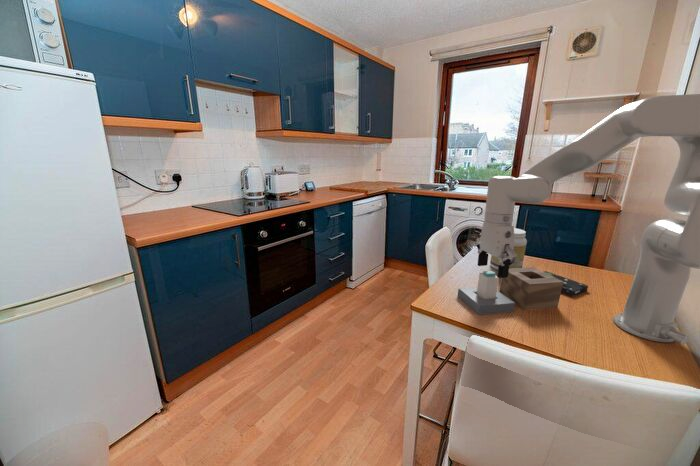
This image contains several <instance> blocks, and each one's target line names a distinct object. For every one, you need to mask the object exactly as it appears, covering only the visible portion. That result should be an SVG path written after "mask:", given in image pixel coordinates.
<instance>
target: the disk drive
mask: <svg viewBox="0 0 700 466" xmlns="http://www.w3.org/2000/svg"><path fill="white" fill-rule="evenodd" d="M544 272H545V273H547V274H549V275H551V276H553V277H555V278H557V279H559V280H561V281H563V287H562V291H561V294H563V295H566V296H569V297H571V298H572V297H576V296H579V295H581V294H583V293H585V292H587V291H588V288H589V285H587V284H586V283H585V284H584V283H581V282H579V281H575V280H573V279H569V278H568V277H564V276H561V275H558V274H555V273H552V272H549V271H544Z"/></svg>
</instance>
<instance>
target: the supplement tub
mask: <svg viewBox="0 0 700 466" xmlns="http://www.w3.org/2000/svg"><path fill="white" fill-rule="evenodd" d="M526 233H527V231H525V230H524V229H521V228H515V227H514V249H513V251H514V252H515V253H516V254H517V257H516V259H515V260H514V263H512V264H511V265H510V266H509V269H511V268H523V265H524V264H523V263H524V259H525V254H526V248H527V243H528V240H527V239H526V236H527V235H526ZM490 255H491V254H490ZM501 255H503V254H501ZM503 260H504V261H505V258H503ZM489 264H490V266H491V268H493V269H494V270H497V271H498V266H499V265H500V262H499V259H498V258H497V257H495V256H493V255H491V256H490V262H489Z"/></svg>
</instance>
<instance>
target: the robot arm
mask: <svg viewBox="0 0 700 466" xmlns="http://www.w3.org/2000/svg"><path fill="white" fill-rule="evenodd" d="M645 137H646V138H647V137H671V138H672V139H673V140H674V141H675V142H676V144H677V146H678V148H679V151H680V152H679V159H678V162H677V167H676V168H675V170H674V173H673V176H672V179H671V181H670V183H669V186H668V188H667V190H666V193H665V195H664V201H663V202H664V206H665V207H666V208H667V209H668V210H669V211H671V212H673V213H675V214H678V215H681V216H685V217H687V218H686V220H683V219H679V218H678V219H677V218H663V219H659V220H655V221H654V222H651V223H650V224H649V225H648V226H647V227H646V228H645V229H644V231H643V233H642V235H641V240H640V254H639V259H638V263H637V266H636V271H635V272H634V277H633V280H632V283H631V287H630V289H629V291H628V296H627V298H626V302H625V305H624V308H623V312H622V313H617V314H615V315H614V316H613V319H612V320H613V322H614V324H616V326H617V327H619V328H620V329H622V330H623V331H626V332H627V333H630V334H631V335H634V336H637V337H639V338H642V339H645V340H649V341H653V342H659V343H673V342H677V343H679V344H681V345H685V344H686V343H688V341H689V340H688V338H689V335H688V334H687V333H684V332H682V331H680V330H678V328H677V327H678V323H677V322H674V319H675V318H676V314H677V311H678V309H679V306H680V303H681V300H682V298H683V295H684V292H685V289H686V286H687V284H688V283H689V279H690V275H691V268H692V269H698V270H700V93H693V94H674V95H673V94H671V95H670V94H669V95H657V96H656V95H655V96H650V97H647V98H642V99H640V100H636V101H633V102H630V103H627V104H625V105H623V106H621V107H620V108H619V109H617V110H615V111H614V112H612V113H611V114H609V115H608V116H607V117H605V118H604V119H602V120H601V121H600V122H598V123H597V124H595V125H594V126H592V127H591V128H590V129H588V130H587V131H586V132H584V133H583V134H581V135H580V136H578V137H577V138H575V139H574V140H572V141H571V142H569V143H568V144H566V145H565V146H563V147H562V148H561V147H560V148H559V149H558V150H557V151H556V152H554V153H552V154H550V155H549V156H547V157H546V158H543V159H542V160H541V161H538V162H537V163H536V164H535V165H533V166H532V167H530V168H529V169H528V170H526V171H525V172H524V173H522V174H521V175H520V176H518V177H514V176H509V175H508V176H507V175H495V176H492V177H490V178H489V180H488V184H487V193H486V201H485V211H484V219H483V220H484V221H483V224H482V228H481V232H480V237H477V238H476V240H475V241H476V247H477V254H478V257H477V266H478V267H483V266H484V267H485V266H488V260H489V255H493V256H495V257H497V258H498V259H499V262H500V265H499V266H498V270H497V273H496V276H497V277H498V278H499V279H502V278H506V277H508V272H509V266H510V265H511V264H512V263H514V260H515V259H516V257H517V254H516V253H515V252H514V251H513V249H514V228H515V227H514V224H513V220H514V214H515V213H514V212H515V207H516V206H515V205H516V202H517V203H524V204H528V205H529V204H530V205H532V204H533V205H536V204H537V205H538V204H540V203H543V202H545V201H546V200H548V199H549V198H550V196H551V195H552V191H553V189H552V188H553V187H552V184H554V183H555V182H557V181H559V180H561V179H563V178H565V177H567V176H570V175H572V174H577V173H579V172H583V171H586V170H589V169H592V168H594V167H596V166H598V165H600V164H601V163H602V162H604V161H605V160H607V159H609V158H610V157H611V156H614V155H615V154H616V153H618V152H619V151H620V150H622V149H623V148H625V147H627V146H628V145H629V144H631V143H633V142H634V141H636V140H638V139H640V138H645ZM501 254H503V255H501ZM503 258H505V261H504V260H503Z"/></svg>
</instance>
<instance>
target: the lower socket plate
mask: <svg viewBox="0 0 700 466" xmlns="http://www.w3.org/2000/svg"><path fill="white" fill-rule="evenodd" d="M477 287H478V286H466V287H458V289H457V297H458V298H459V299H460V300H461V301H462V302H464V303H465V304H466V305H467V306H468V308H471V309H472V310H473V311H474V312H475V313H476V314H477V315H478V316H480V315H489V314H490V315H491V314H500V313H512V312H515V305H516V304H515V302H513V301H512V300H510V299H509V298H507V297H506V296H504V295H503V294H502V293H500V292H499V290H497V292H496V298H495V299H486V300H483V299H482V298H480V297H479V296H478V295H477Z"/></svg>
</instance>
